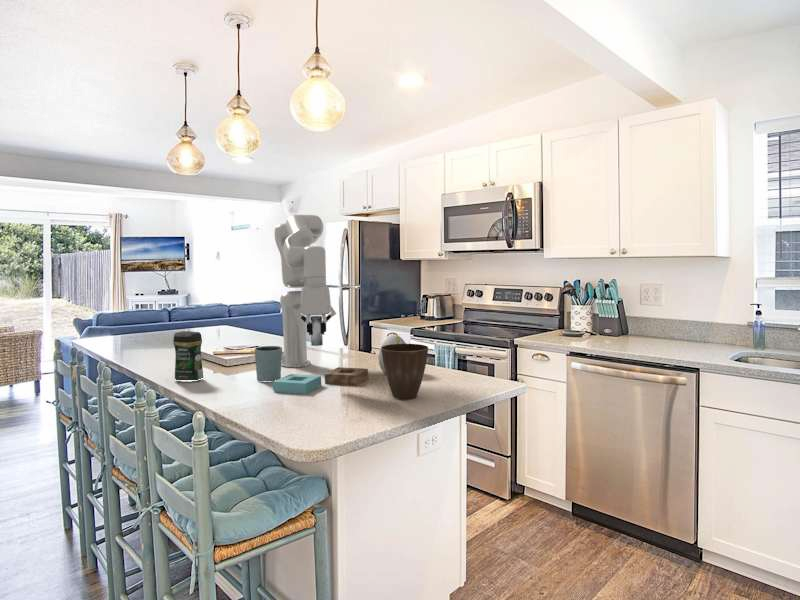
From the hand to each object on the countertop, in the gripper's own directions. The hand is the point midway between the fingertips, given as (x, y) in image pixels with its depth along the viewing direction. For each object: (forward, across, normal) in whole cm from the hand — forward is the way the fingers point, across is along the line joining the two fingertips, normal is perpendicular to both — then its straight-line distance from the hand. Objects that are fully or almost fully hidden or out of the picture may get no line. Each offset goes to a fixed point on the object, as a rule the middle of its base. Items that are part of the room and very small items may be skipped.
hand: (316, 333), depth 176 cm
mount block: (+18, +11, +5) cm, 22 cm away
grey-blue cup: (+19, -18, +14) cm, 29 cm away
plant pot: (+19, +27, -22) cm, 40 cm away
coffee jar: (+19, -47, +19) cm, 54 cm away
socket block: (+18, -7, -3) cm, 20 cm away
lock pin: (+4, 0, 0) cm, 4 cm away
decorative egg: (+19, +30, +14) cm, 38 cm away
